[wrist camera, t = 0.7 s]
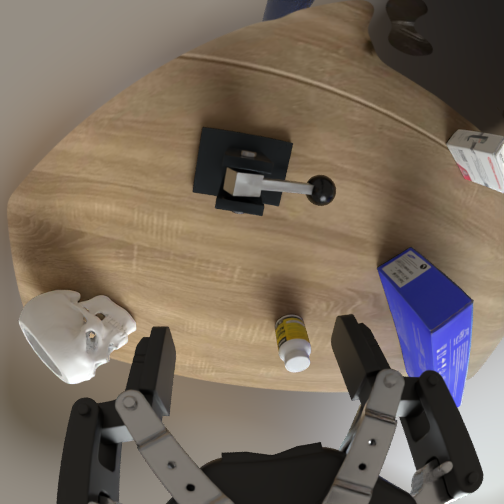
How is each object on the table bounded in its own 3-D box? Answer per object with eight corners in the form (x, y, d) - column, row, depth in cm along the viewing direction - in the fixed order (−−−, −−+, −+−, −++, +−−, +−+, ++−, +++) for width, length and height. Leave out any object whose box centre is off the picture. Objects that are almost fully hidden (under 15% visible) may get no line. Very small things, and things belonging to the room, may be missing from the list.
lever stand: (291, 142, 35) (319, 151, 23) (277, 203, 39) (296, 242, 27) (203, 127, 34) (184, 126, 21) (194, 190, 38) (172, 222, 25)
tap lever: (325, 173, 32) (345, 181, 29) (318, 201, 34) (337, 211, 31) (225, 158, 26) (241, 165, 23) (219, 194, 27) (234, 205, 24)
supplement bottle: (277, 312, 47) (285, 352, 39) (307, 314, 48) (319, 353, 39) (271, 334, 50) (277, 374, 41) (299, 336, 50) (309, 375, 41)
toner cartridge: (431, 356, 58) (461, 405, 42) (406, 372, 60) (432, 424, 43) (412, 243, 43) (476, 301, 26) (375, 266, 44) (429, 335, 28)
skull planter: (146, 357, 49) (78, 412, 32) (87, 310, 55) (25, 347, 38) (144, 303, 43) (55, 360, 27) (80, 259, 49) (6, 292, 33)
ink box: (476, 162, 36) (520, 178, 26) (464, 179, 38) (508, 198, 27) (458, 126, 34) (506, 135, 23) (444, 143, 35) (493, 155, 24)
